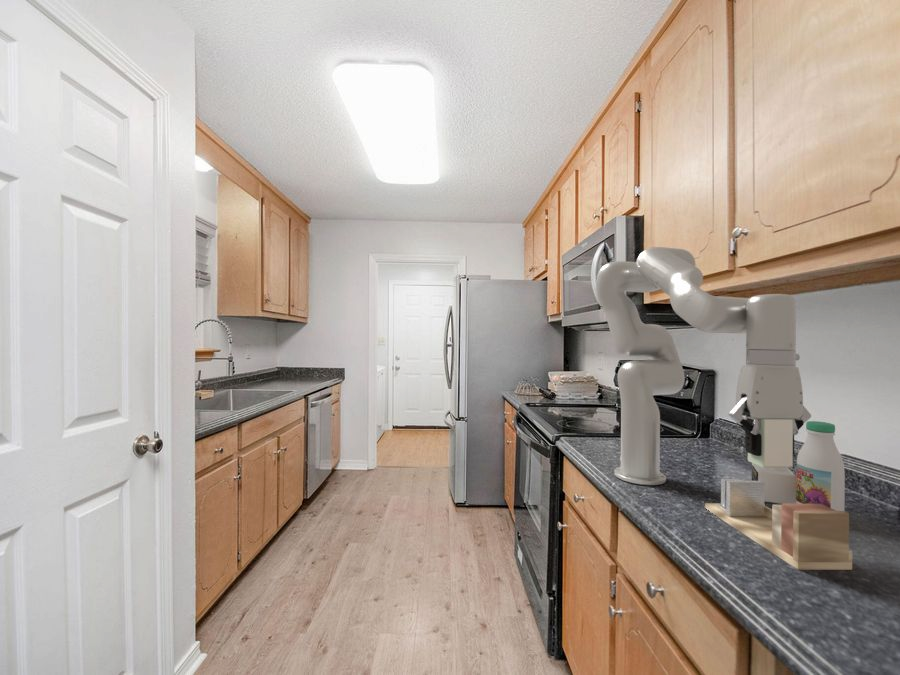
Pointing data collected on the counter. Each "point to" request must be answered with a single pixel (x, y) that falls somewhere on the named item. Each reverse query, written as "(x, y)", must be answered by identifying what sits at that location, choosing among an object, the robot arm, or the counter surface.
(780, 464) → the pale green block
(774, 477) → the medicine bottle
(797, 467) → the milk bottle
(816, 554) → the panel
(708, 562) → the counter surface
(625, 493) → the counter surface
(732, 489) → the bookend
